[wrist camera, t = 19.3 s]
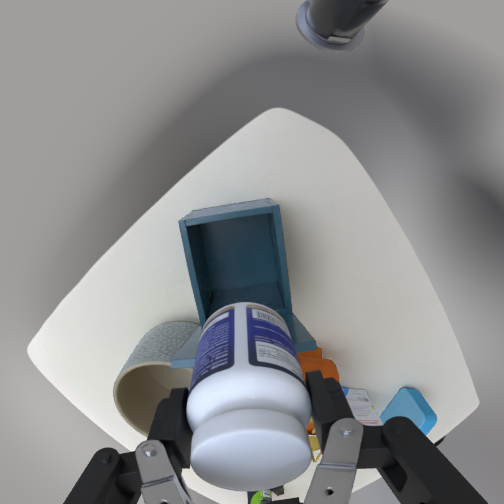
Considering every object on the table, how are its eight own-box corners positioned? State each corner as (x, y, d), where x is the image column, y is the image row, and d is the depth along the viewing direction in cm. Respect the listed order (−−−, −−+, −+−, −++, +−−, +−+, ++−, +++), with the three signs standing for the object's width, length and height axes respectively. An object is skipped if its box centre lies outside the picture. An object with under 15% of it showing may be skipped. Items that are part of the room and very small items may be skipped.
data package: (387, 423, 58) (405, 457, 46) (374, 422, 57) (391, 458, 45) (415, 386, 55) (439, 419, 43) (402, 384, 55) (426, 419, 43)
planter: (137, 373, 51) (112, 428, 36) (147, 297, 47) (114, 344, 32) (222, 396, 53) (218, 456, 38) (246, 323, 49) (248, 381, 34)
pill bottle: (212, 378, 19) (199, 500, 10) (191, 307, 18) (151, 427, 8) (294, 365, 19) (326, 486, 10) (284, 291, 18) (324, 406, 8)
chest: (192, 210, 44) (178, 220, 34) (269, 198, 44) (279, 204, 34) (209, 294, 47) (201, 326, 37) (281, 284, 47) (292, 313, 37)
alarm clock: (291, 336, 50) (316, 417, 30) (324, 340, 50) (361, 418, 31) (272, 393, 53) (284, 475, 34) (302, 396, 53) (324, 475, 34)
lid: (169, 360, 22) (184, 417, 22) (315, 340, 22) (322, 400, 22) (200, 325, 37) (208, 365, 36) (292, 312, 37) (298, 352, 36)
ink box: (320, 403, 54) (338, 456, 40) (330, 385, 53) (352, 438, 39) (355, 406, 55) (377, 454, 41) (365, 389, 54) (392, 437, 40)
